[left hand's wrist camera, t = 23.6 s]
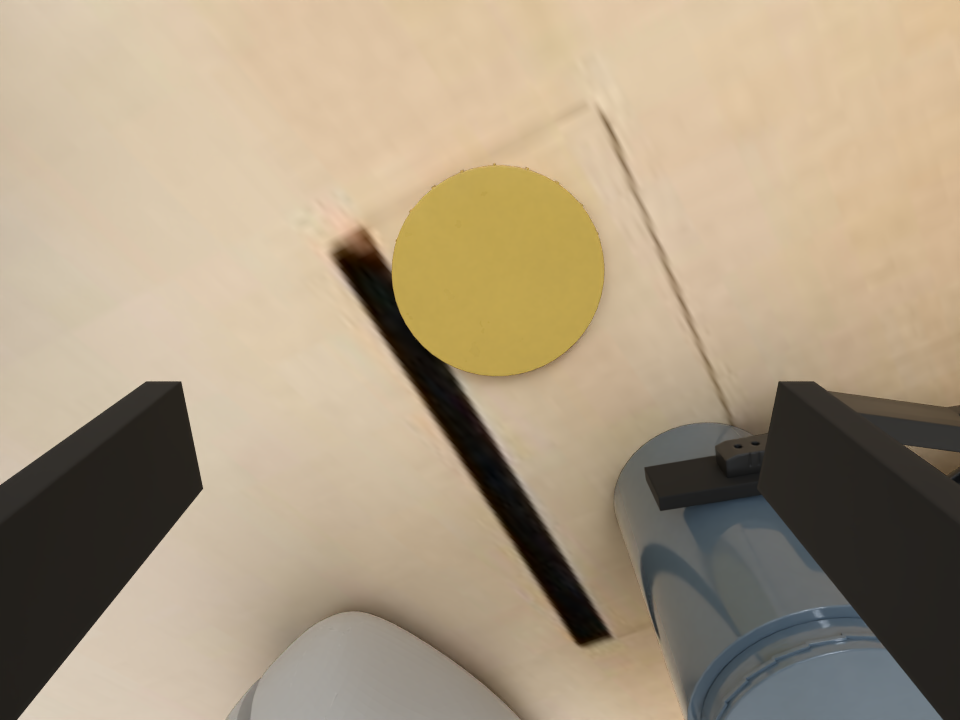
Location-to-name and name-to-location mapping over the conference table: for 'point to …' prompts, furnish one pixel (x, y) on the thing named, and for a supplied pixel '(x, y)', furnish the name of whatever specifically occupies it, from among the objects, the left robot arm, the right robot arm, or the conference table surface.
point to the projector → (366, 678)
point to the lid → (498, 270)
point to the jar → (749, 606)
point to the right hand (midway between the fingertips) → (663, 582)
